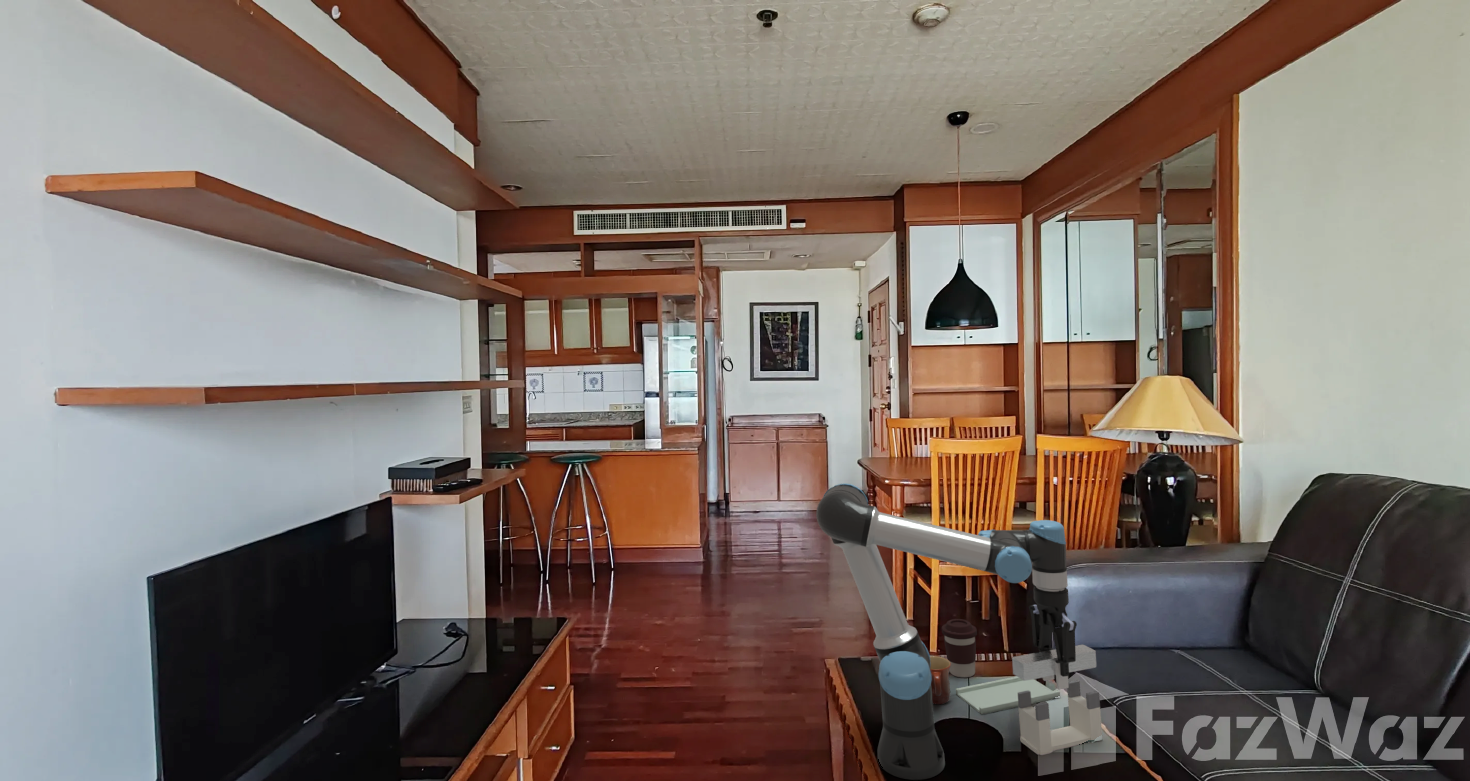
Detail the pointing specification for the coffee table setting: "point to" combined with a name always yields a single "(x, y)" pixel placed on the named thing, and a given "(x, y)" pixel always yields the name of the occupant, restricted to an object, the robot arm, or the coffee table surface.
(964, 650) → the coffee cup
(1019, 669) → the rail
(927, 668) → the robot arm
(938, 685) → the mug
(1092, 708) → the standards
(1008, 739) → the coffee table surface
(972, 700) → the pad
